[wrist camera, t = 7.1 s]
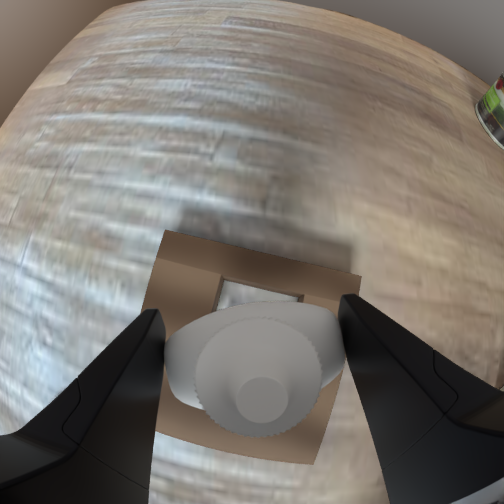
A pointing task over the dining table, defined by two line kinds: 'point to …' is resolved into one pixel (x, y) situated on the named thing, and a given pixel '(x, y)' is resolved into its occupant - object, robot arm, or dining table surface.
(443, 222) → the dining table surface
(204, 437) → the holder block
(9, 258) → the dining table surface
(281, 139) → the dining table surface
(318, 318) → the eye dropper bottle
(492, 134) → the coffee can
